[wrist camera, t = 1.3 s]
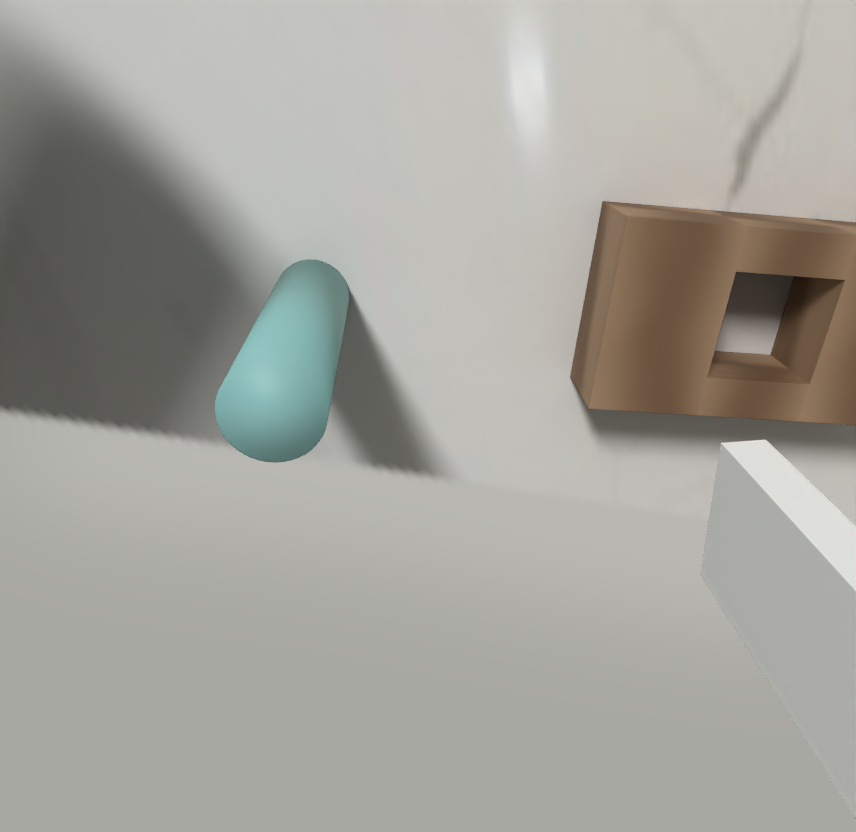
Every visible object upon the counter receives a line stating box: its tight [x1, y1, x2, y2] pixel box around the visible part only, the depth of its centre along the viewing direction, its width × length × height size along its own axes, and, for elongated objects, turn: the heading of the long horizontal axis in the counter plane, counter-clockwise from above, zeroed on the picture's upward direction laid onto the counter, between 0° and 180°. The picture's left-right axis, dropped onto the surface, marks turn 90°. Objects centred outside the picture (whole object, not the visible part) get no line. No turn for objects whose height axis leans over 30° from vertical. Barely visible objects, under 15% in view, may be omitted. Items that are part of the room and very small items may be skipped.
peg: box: [215, 260, 350, 462], centre depth 26 cm, size 3×3×12 cm
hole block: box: [570, 201, 856, 425], centre depth 31 cm, size 14×8×4 cm, turn 85°
